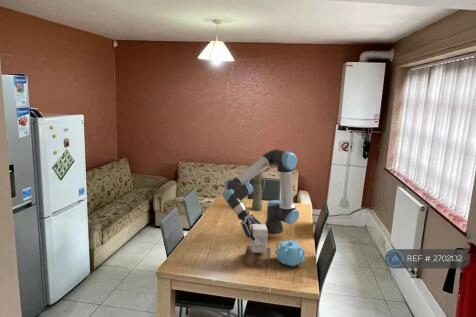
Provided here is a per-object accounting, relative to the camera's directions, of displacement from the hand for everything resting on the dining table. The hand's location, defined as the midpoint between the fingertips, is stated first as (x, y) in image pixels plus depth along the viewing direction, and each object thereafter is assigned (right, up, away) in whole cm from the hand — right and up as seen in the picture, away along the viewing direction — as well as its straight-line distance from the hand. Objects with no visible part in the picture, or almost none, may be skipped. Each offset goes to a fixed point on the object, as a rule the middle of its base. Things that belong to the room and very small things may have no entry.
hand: (262, 240), depth 196 cm
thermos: (+2, +3, +97) cm, 97 cm away
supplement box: (-3, -6, +2) cm, 7 cm away
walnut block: (-3, -14, +4) cm, 14 cm away
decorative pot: (+17, -14, +4) cm, 23 cm away
